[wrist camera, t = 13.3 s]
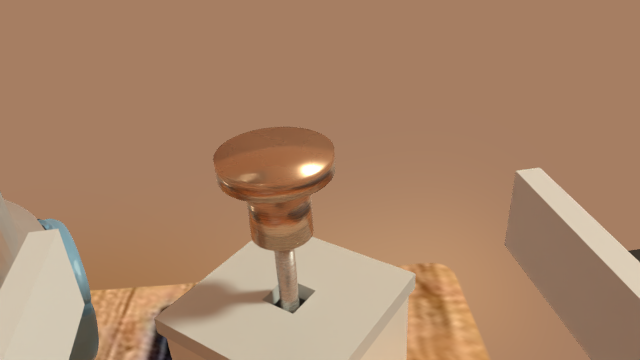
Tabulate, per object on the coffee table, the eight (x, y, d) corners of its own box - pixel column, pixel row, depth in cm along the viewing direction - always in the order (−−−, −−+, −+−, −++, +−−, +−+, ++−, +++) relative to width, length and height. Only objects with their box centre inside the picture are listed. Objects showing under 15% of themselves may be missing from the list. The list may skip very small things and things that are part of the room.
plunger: (241, 440, 40) (187, 163, 29) (293, 379, 45) (264, 119, 33) (314, 486, 37) (285, 194, 26) (362, 415, 41) (356, 140, 30)
